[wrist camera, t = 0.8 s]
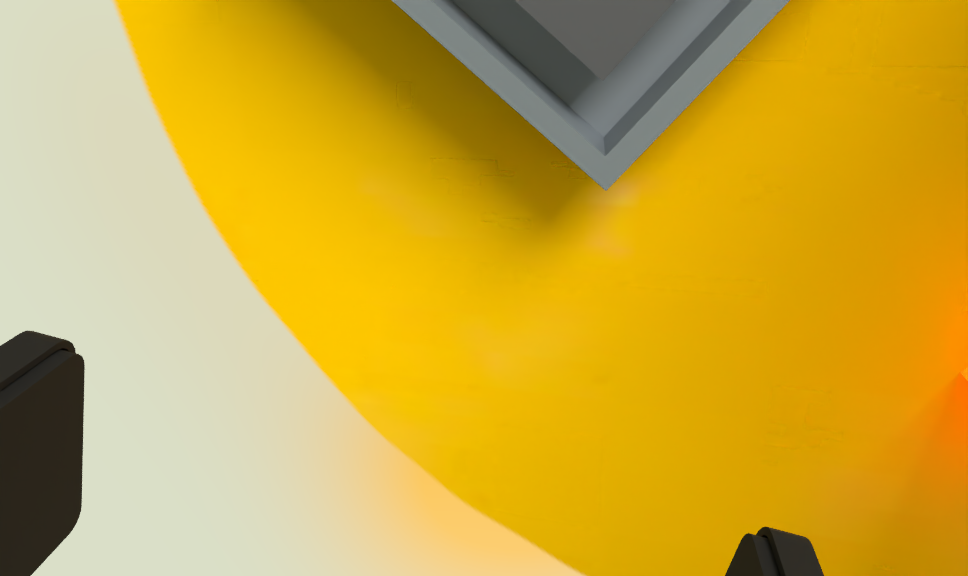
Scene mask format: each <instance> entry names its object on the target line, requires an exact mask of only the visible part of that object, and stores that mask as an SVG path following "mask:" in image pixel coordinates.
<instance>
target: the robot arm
mask: <svg viewBox="0 0 968 576" xmlns="http://www.w3.org/2000/svg"><path fill="white" fill-rule="evenodd" d="M83 409H84V360H83V358H82V356H80V355H79V354H76V353H75V348H74V346H73V344H72V343H71V342H69V341H67V340H64V339H60V338H56V337H52V336H48V335H45V334H41V333H37V332H34V331H25V332H22V333H20V334H19V335H17V336H15V337H14V338H13V339H11V340H9V341H7V342H6V343H4V344H3V345H1V346H0V576H30V575H32V574H33V573H34V571H35V570H36V569H37V568H38V567H39V566H40V565H41V564H42V563H43V562H44V561H45V560H46V558H47V557H48V556H49V555H50V554H51V553H52V552H53V551H54V550H55V549H56V548H57V547H58V545H59V544H60V543H61V542H62V541H63V540H64V539H65V538H66V537H67V536H68V535H69V534H70V532H71V531H72V530H73V528H74V526H75V525H76V523H77V520H78V518H79V515H80V512H81V501H82V500H81V499H82V455H83ZM725 576H824V575H823V572H822V569H821V567H820V564H819V562H818V559H817V557H816V554H815V551H814V549H813V546H812V544H811V542H810V541H809V539H807V538H806V537H803V536H799V535H795V534H792V533H788V532H784V531H780V530H777V529H773V528H769V527H762V528H761V529H760V530H759V531H758V533H757V534H756V535H753V534H749V533H748V534H746V535H745V536H744V537H743V538H742V540H741V542H740V544H739V546H738V548H737V550H736V553H735V555H734V557H733V559H732V561H731V564H730V566H729V568H728V570H727V572H726V575H725Z"/></svg>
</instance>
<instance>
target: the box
mask: <svg viewBox="0 0 968 576" xmlns="http://www.w3.org/2000/svg"><path fill="white" fill-rule="evenodd" d="M392 1H393V2H394V3H395V4H396V5H398V6H399V7H400V8H401V9H402V10H403V11H404V12H405V13H407V14H408V15H409V16H410V17H411V18H412V19H413V20H414V21H416V22H417V23H418V24H419V25H420V26H421V27H422V28H423V29H425V30H426V31H427V32H428V33H429V34H430V35H431V36H432V37H434V38H435V39H436V40H437V41H438V42H439V43H440V44H441V45H443V46H444V47H445V48H446V49H447V50H448V51H449V52H450V53H452V54H453V55H454V56H455V57H456V58H457V59H458V60H459V61H461V62H462V63H463V64H464V65H465V66H466V67H467V68H468V69H470V70H471V71H472V72H473V73H474V74H475V75H476V76H477V77H479V78H480V79H481V80H482V81H483V82H484V83H485V84H486V85H488V86H489V87H490V88H491V89H492V90H493V91H494V92H495V93H497V94H498V95H499V96H500V97H501V98H502V99H503V100H504V101H506V102H507V103H508V104H509V105H510V106H511V107H512V108H513V109H515V110H516V111H517V112H518V113H519V114H520V115H521V116H522V117H524V118H525V119H526V120H527V121H528V122H529V123H530V124H531V125H533V126H534V127H535V128H536V129H537V130H538V131H539V132H540V133H542V134H543V135H544V136H545V137H546V138H547V139H548V140H549V141H551V142H552V143H553V144H554V145H555V146H556V147H557V148H558V149H559V150H561V151H562V152H563V153H564V154H565V155H566V156H567V157H568V158H570V159H571V160H572V161H573V162H574V163H575V164H576V165H577V166H579V167H580V168H581V169H582V170H583V171H584V172H585V173H586V174H588V175H589V176H590V177H591V178H592V179H593V180H594V181H595V182H597V183H598V184H599V185H600V186H601V187H602V188H603V189H604V190H607V189H608V188H609V187H610V186H611V185H612V184H613V183H614V182H615V181H616V180H617V179H618V178H619V177H620V176H621V175H622V174H623V173H624V172H625V171H626V170H627V169H628V168H629V167H630V166H631V165H632V163H633V162H634V161H635V160H636V159H637V158H638V157H639V156H640V155H641V154H642V153H643V152H644V151H645V150H646V149H647V148H648V147H649V146H650V145H651V144H652V143H653V142H654V141H655V140H656V139H657V138H658V137H659V135H660V134H661V133H662V132H663V131H664V130H665V129H666V128H667V127H668V126H669V125H670V124H671V123H672V122H673V121H674V120H675V119H676V118H677V117H678V116H679V115H680V114H681V113H682V112H683V111H684V110H685V108H686V107H687V106H688V105H689V104H690V103H691V102H692V101H693V100H694V99H695V98H696V97H697V96H698V95H699V94H700V93H701V92H702V91H703V90H704V89H705V88H706V87H707V86H708V85H709V84H710V83H711V82H712V80H713V79H714V78H715V77H716V76H717V75H718V74H719V73H720V72H721V71H722V70H723V69H724V68H725V67H726V66H727V65H728V64H729V63H730V62H731V61H732V60H733V59H734V58H735V57H736V56H737V55H738V54H739V52H740V51H741V50H742V49H743V48H744V47H745V46H746V45H747V44H748V43H749V42H750V41H751V40H752V39H753V38H754V37H755V36H756V35H757V34H758V33H759V32H760V31H761V30H762V29H763V28H764V27H765V25H766V24H767V23H768V22H769V21H770V20H771V19H772V18H773V17H774V16H775V15H776V14H777V13H778V12H779V11H780V10H781V9H782V8H783V7H784V6H785V5H786V4H787V3H788V2H789V1H790V0H392Z"/></svg>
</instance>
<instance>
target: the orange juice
mask: <svg viewBox="0 0 968 576" xmlns="http://www.w3.org/2000/svg"><path fill="white" fill-rule="evenodd" d="M960 373H961V374H962V375H963V376H964V377H965V379H966V380H967V381H968V367H967V368H966V369H964V370H963V371H961V372H960Z"/></svg>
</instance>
